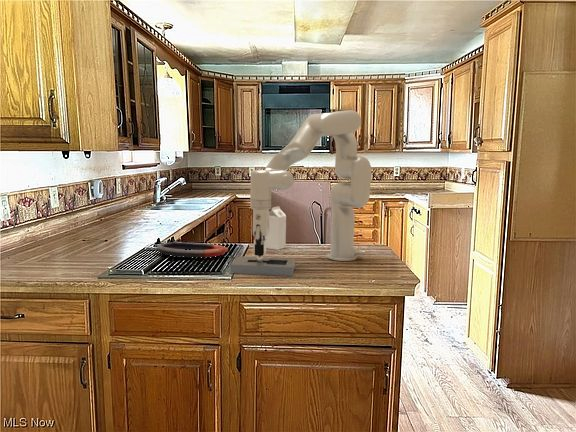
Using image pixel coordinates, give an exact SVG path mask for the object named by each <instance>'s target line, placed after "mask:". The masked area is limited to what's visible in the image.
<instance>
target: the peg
mask: <svg viewBox="0 0 576 432" xmlns="http://www.w3.org/2000/svg"><path fill="white" fill-rule="evenodd" d="M263 245H264V254H263V256H260V255H256V257H257V262H258V263H263V257H264V255H266V253H267V248H266V239H263ZM253 255H255V238H254V239H253Z"/></svg>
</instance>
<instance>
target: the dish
mask: <svg viewBox="0 0 576 432" xmlns="http://www.w3.org/2000/svg"><path fill="white" fill-rule="evenodd" d="M156 248H157V250H158V252H159V253H160V254H161V253H163V254H167V255H173V256H184V257H212V256H220V255H222V256H223V255H225V253H227V252H228V251H229V248H228V246H227V247H226V246H223V245H220V244H219V245H218V244H215V243H214V244H212V243H205V242H204V243H201V242H188V241H187V242H181V241H178V240H174V241H173V242H164V243H163V242H162V243H159V244H157V245H156ZM185 249H193V250H185ZM163 254H162V255H163ZM220 257H221V256H220Z"/></svg>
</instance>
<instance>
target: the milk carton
mask: <svg viewBox="0 0 576 432" xmlns="http://www.w3.org/2000/svg"><path fill="white" fill-rule="evenodd" d="M286 234H287V215H286V213H285V212H283V210H282V209H281V207H280V205H278V206H274V207H271V209H270V210H269V234H268V235H267V236H266V237H265V239H266V249H269V250H274V251H275V250H276V251H280V250H282V249H285V248H286V245H287V244H286V242H287V241H286V240H287V239H286V238H287V237H286V236H287V235H286Z"/></svg>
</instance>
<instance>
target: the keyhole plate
mask: <svg viewBox="0 0 576 432" xmlns="http://www.w3.org/2000/svg"><path fill="white" fill-rule="evenodd" d="M229 267H230V271H231V272H233V273H232V274H237V275H239V274H240V275H256V276H257V275H261V276H277V277H278V276H279V277H280V276H281V277H292V276H293V274H294V270H295V267H296V258H288V257H287V258H285V257H264V256H263V263H258V262H257V256H243V255H242V256H241V255H240V256H239V255H238V256H237V257H236V258H235V259H234V261H232V263H231V264H230V266H229Z"/></svg>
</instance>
